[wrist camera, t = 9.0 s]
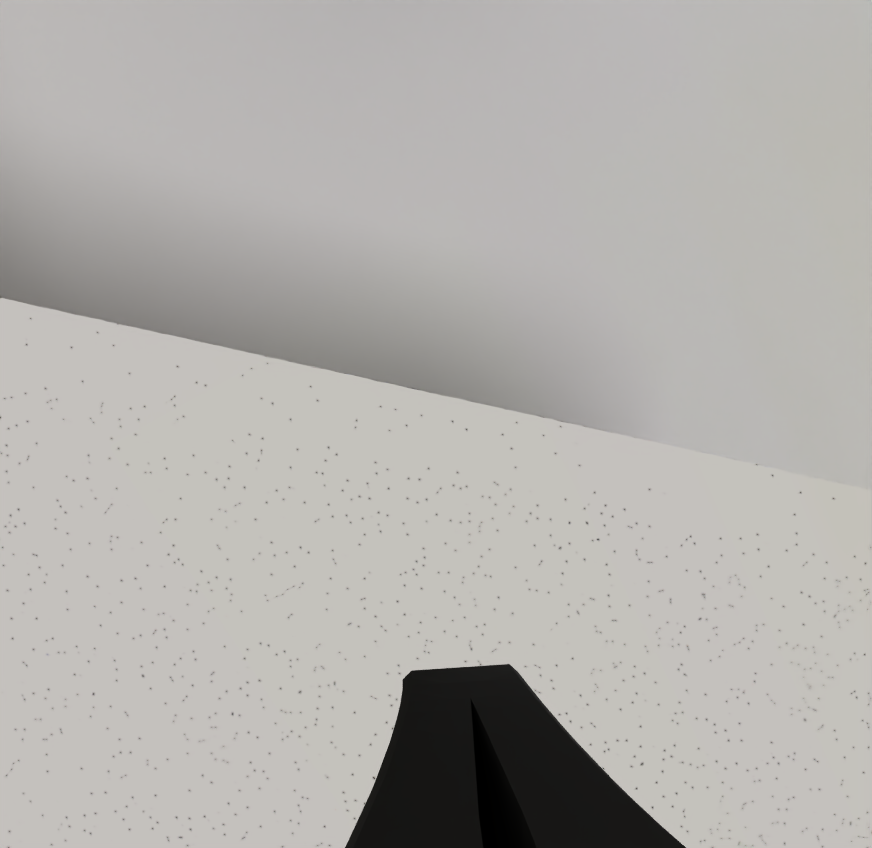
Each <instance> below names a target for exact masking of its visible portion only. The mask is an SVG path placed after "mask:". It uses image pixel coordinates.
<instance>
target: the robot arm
mask: <svg viewBox="0 0 872 848" xmlns="http://www.w3.org/2000/svg"><path fill="white" fill-rule="evenodd" d="M345 848H686V847H685V846H684V845H682V844H681V843H680V842H679V841H678V840H677V839H675V838H674V837H673V836H672V835H671V834H670V833H669V832H667V831H666V830H665V829H664V828H663V827H662V826H661V825H660V824H659V823H657V822H656V821H655V820H654V819H653V818H652V817H651V816H650V815H649V814H648V813H647V812H646V811H645V810H644V809H642V808H641V807H640V806H639V805H638V804H637V803H636V802H635V801H634V800H633V799H632V798H631V797H630V796H629V795H628V794H627V793H626V792H625V791H624V790H623V789H621V788H620V787H619V786H618V785H617V784H616V783H615V782H614V781H613V780H612V779H611V778H610V777H609V776H608V775H607V773H606V772H605V771H604V770H603V769H602V768H601V767H600V766H599V765H598V764H597V763H596V762H595V761H594V760H593V759H592V758H591V757H590V756H589V755H588V753H587V752H586V751H585V750H584V749H583V748H582V747H581V746H580V745H579V744H578V743H577V742H576V741H575V740H574V739H573V737H572V736H571V735H570V734H569V733H568V732H567V731H566V730H565V728H564V727H563V726H562V725H561V724H560V723H559V722H558V720H557V719H556V718H555V717H554V716H553V715H552V713H551V712H550V711H549V710H548V709H547V708H546V706H545V705H544V704H543V703H542V702H541V700H540V699H539V698H538V697H537V695H536V694H535V693H534V692H533V691H532V689H531V688H530V687H529V686H528V684H527V683H526V682H525V681H524V679H523V678H522V677H521V675H520V674H519V673H518V672H517V671H516V670H515V669H514V668H513V667H512V666H511V665H510V664H506V665H490V666H475V667H460V668H445V669H430V670H415V671H411V672H410V673H409V674H408V675H407V676H406V677H405V678H404V679H403V691H402V698H401V704H400V708H399V712H398V716H397V720H396V724H395V727H394V730H393V734H392V737H391V740H390V743H389V746H388V749H387V751H386V754H385V757H384V760H383V762H382V765H381V768H380V770H379V773H378V776H377V778H376V781H375V784H374V786H373V788H372V791H371V793H370V795H369V798H368V800H367V802H366V804H365V806H364V808H363V811H362V813H361V815H360V817H359V819H358V821H357V824H356V826H355V828H354V830H353V832H352V834H351V836H350V839H349V841H348V843H347V845H346V847H345Z"/></svg>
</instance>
